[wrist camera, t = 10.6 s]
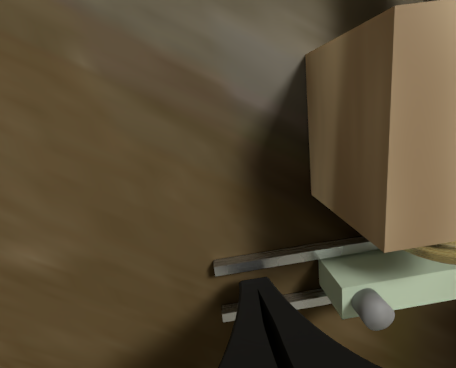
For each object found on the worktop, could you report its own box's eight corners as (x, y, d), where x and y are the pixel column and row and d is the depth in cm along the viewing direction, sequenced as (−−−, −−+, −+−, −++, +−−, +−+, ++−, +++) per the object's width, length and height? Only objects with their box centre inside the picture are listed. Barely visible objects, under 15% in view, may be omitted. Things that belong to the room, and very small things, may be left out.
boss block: (492, 30, 11) (734, -37, 6) (473, 169, 13) (649, 208, 8) (305, 54, 11) (394, 5, 6) (311, 194, 12) (384, 252, 7)
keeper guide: (479, 216, 13) (536, 239, 11) (471, 270, 14) (522, 301, 12) (213, 260, 13) (215, 293, 10) (222, 313, 14) (225, 354, 11)
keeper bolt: (450, 235, 14) (527, 275, 10) (446, 262, 14) (520, 308, 11) (318, 257, 13) (355, 305, 10) (319, 284, 14) (355, 338, 10)
